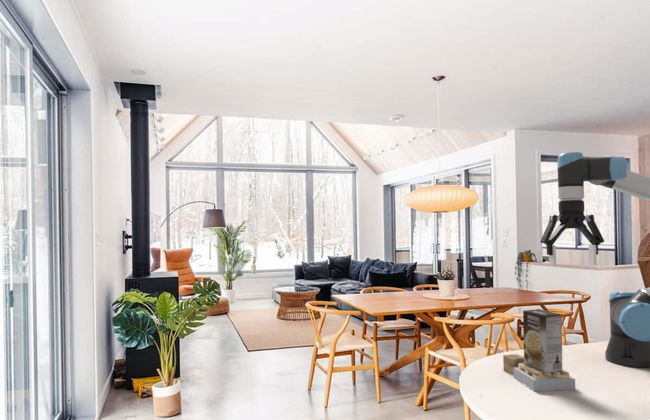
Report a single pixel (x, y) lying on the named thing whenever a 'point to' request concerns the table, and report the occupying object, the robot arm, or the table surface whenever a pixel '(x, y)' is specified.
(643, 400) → the table surface
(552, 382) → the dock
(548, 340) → the coffee box
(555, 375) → the pallet
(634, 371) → the table surface
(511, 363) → the light brown cube
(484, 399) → the table surface
